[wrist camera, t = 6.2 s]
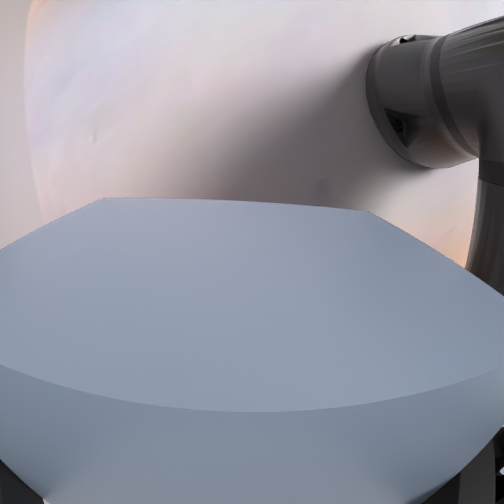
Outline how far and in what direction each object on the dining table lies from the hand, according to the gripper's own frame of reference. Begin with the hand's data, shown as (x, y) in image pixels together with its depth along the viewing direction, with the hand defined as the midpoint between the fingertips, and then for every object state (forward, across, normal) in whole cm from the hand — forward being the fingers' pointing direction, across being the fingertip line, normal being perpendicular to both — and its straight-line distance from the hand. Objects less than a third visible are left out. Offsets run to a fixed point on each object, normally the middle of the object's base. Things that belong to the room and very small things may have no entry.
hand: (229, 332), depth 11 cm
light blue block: (+1, 0, 0) cm, 1 cm away
